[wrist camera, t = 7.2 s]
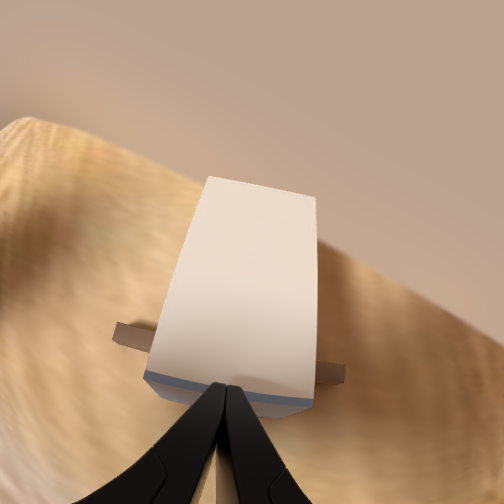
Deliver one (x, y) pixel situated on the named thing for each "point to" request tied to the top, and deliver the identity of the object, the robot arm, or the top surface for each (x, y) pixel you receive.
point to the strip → (145, 338)
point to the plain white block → (242, 301)
